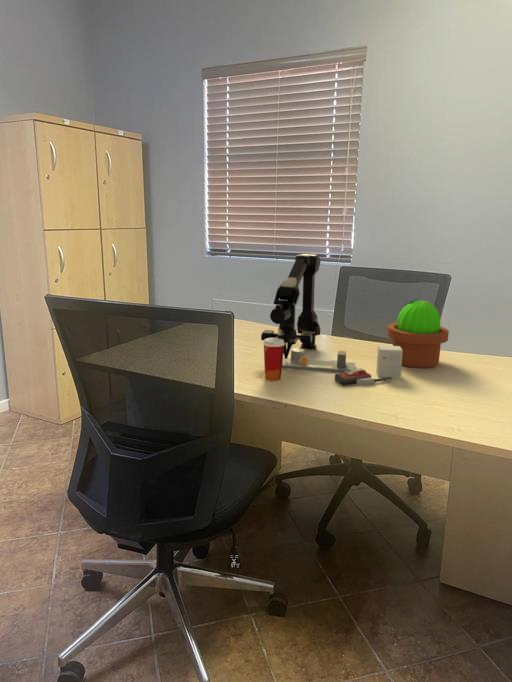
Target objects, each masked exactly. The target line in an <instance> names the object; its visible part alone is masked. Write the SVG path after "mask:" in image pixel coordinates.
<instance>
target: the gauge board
mask: <svg viewBox="0 0 512 682" xmlns="http://www.w3.org/2000/svg"><path fill="white" fill-rule="evenodd" d="M284 369H285V370H296V371H298V370H299V371H310V372H311V371H313V372H324V373H326V372H327V373H335V374H338V373H345V371H347V372H350V371H351V370H352V369H356V362H350V361H347V351H345V350H343V351H342V350H338V351H337V360H336V361H334V360H324V359H309V358H308V364H307V365H302V364H295V363H291V357H287V359H285V357H283V363H282V370H284Z"/></svg>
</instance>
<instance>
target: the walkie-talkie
mask: <svg viewBox="0 0 512 682" xmlns="http://www.w3.org/2000/svg"><path fill="white" fill-rule="evenodd" d="M387 380H388V381H390V380H393V378H392V377H387V378H381V377H379V378H373V377H372V375H371V374H370V373H368V372H367V371H366V370H365V369H364V368H355V369H352V370H351V371H350V372H347V371H345V373H335V374H334V382H336V383H337V384H339V385H340V386H344V387H346V386H354V385H356V386H370V385H371V386H372V385H375V383H377V382H385V381H387Z"/></svg>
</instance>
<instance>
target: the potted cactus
mask: <svg viewBox="0 0 512 682" xmlns="http://www.w3.org/2000/svg"><path fill="white" fill-rule="evenodd" d="M440 317H441V316H440V314H439V310H437V307H435V305H434V304H432V303H431V302H429V301H428V300H426V301H425V300H424V299H420V300H419V299H415V300H410V301H409V302H407V303H405V304H404V306H403V307H402V309H401V310H400V312H399V313H398V315H397V320H396V321H395V322H394V323H390V324H388V326H387V336H388V337H389V338H390V339H392V346H400V347H401V349H402V350H403V353H402V365H401V366H404V367H408V368H413V369H414V368H415V369H417V368H418V369H421V368H422V369H423V368H424V369H425V368H432V367H435V366H437V365H439V364H440V363H439V362H440V354H441V346H442V344H444V343H446V342H448V340H449V334H450V333H449V332H450V331H449V329H448V328H446V327H443V326H441V321H442V318H440Z"/></svg>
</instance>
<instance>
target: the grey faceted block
mask: <svg viewBox="0 0 512 682" xmlns="http://www.w3.org/2000/svg"><path fill="white" fill-rule="evenodd" d="M302 356H306V349H300V348H294V347H293V348H291V350H290V358H291V363H295V364H302Z"/></svg>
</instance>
